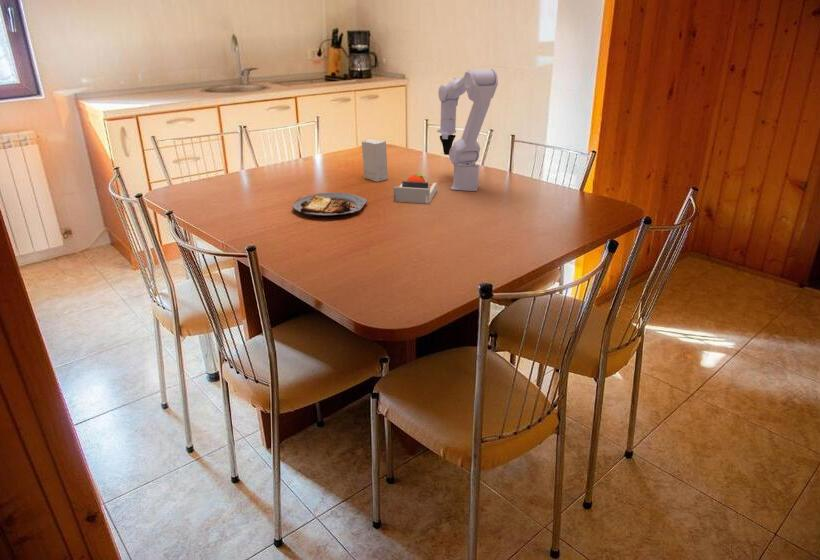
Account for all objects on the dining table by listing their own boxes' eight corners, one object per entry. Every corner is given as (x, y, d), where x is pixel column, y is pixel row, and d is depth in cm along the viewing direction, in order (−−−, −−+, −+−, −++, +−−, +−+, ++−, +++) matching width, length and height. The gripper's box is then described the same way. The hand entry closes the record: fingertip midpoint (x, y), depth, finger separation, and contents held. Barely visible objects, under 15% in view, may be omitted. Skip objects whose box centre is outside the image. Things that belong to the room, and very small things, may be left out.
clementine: (429, 191, 214) (429, 172, 211) (427, 197, 208) (428, 177, 205) (407, 190, 215) (407, 171, 212) (405, 196, 209) (405, 176, 206)
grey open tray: (436, 190, 215) (437, 177, 213) (428, 203, 201) (429, 189, 199) (403, 188, 217) (403, 175, 215) (393, 201, 203) (393, 187, 201)
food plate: (354, 222, 183) (354, 211, 182) (283, 219, 187) (282, 208, 185) (372, 200, 206) (372, 190, 204) (308, 198, 209) (308, 188, 208)
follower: (428, 196, 208) (428, 182, 205) (427, 197, 207) (427, 183, 204) (402, 195, 209) (402, 180, 207) (402, 196, 208) (402, 181, 206)
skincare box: (388, 179, 229) (387, 141, 223) (376, 182, 225) (375, 143, 219) (374, 175, 234) (373, 138, 228) (362, 178, 231) (361, 140, 224)
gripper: (440, 114, 228) (439, 149, 234) (434, 121, 215) (433, 158, 221) (458, 115, 227) (457, 150, 233) (453, 122, 214) (452, 159, 220)
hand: (447, 154), depth 227 cm, fingers closed
